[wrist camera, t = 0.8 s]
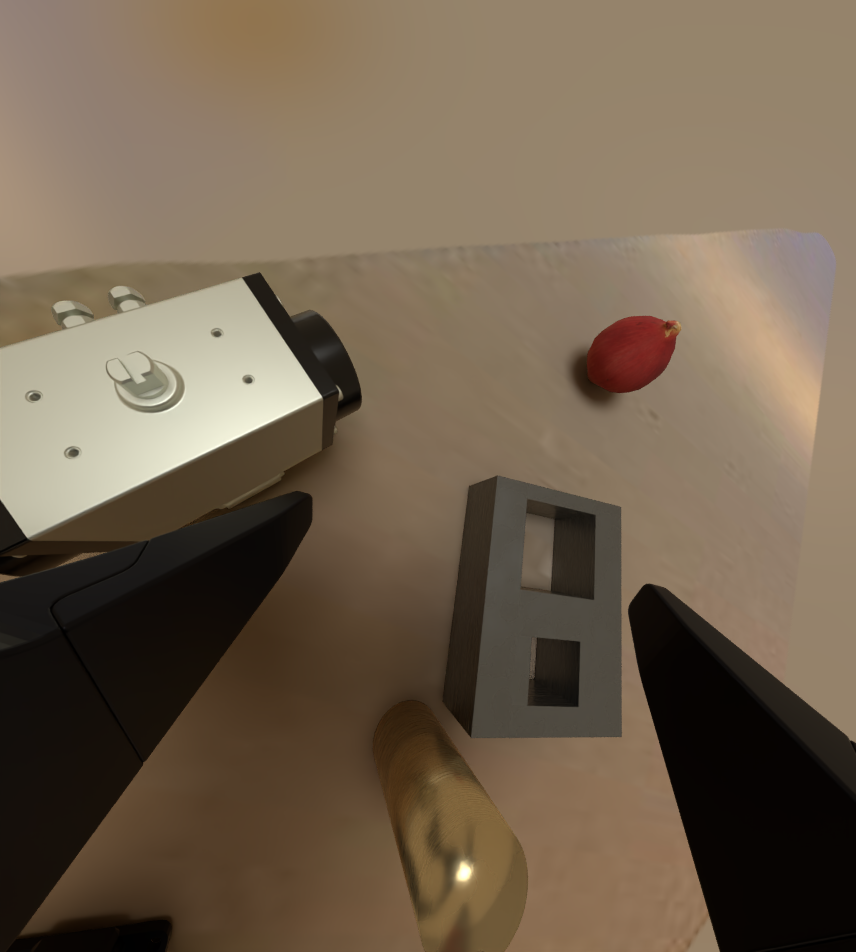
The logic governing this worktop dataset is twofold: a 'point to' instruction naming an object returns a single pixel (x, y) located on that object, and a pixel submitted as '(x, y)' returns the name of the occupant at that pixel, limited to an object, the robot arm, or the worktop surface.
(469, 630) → the socket block
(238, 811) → the worktop surface
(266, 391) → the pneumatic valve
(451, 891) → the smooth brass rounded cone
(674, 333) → the onion
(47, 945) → the robot arm
